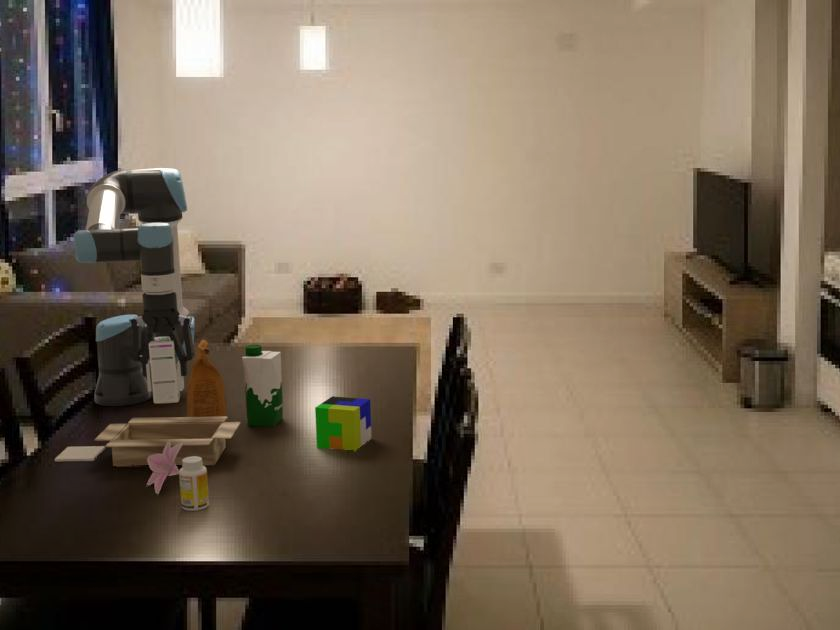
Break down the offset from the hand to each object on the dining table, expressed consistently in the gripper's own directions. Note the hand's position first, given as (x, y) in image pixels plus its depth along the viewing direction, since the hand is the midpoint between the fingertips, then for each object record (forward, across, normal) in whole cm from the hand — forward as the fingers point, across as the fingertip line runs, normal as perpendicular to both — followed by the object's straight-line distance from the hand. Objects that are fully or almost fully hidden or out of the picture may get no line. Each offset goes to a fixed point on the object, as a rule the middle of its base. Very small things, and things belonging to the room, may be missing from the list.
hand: (166, 389), depth 246 cm
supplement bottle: (+16, +13, -32) cm, 38 cm away
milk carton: (+17, +18, +26) cm, 35 cm away
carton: (+16, 0, 0) cm, 16 cm away
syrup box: (+3, 0, 0) cm, 3 cm away
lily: (+16, +4, -20) cm, 26 cm away
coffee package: (+17, +4, +22) cm, 28 cm away
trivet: (+16, -22, +2) cm, 27 cm away
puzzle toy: (+16, +40, +8) cm, 44 cm away
